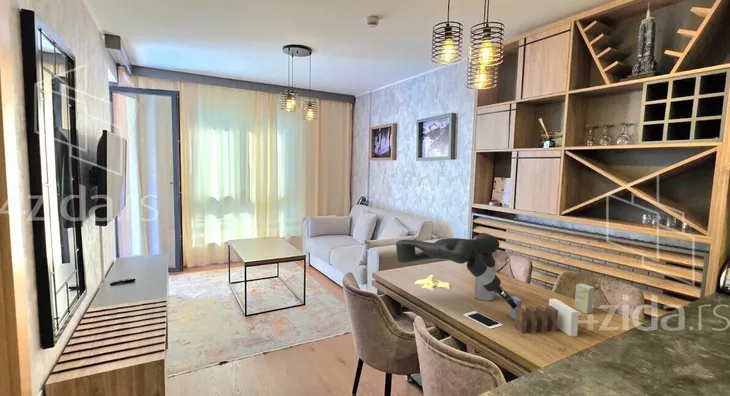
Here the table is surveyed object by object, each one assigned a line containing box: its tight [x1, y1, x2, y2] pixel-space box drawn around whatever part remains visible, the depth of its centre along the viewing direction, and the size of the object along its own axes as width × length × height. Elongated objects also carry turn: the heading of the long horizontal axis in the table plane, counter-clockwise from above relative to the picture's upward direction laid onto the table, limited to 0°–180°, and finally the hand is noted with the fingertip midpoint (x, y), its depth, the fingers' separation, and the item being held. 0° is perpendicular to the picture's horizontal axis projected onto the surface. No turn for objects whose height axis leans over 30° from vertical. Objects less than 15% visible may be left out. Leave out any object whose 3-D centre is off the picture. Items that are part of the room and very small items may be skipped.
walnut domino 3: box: [535, 305, 548, 333], centre depth 144 cm, size 2×5×9 cm, turn 6°
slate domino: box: [510, 296, 522, 320], centre depth 155 cm, size 2×5×9 cm, turn 6°
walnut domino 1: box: [514, 306, 527, 334], centre depth 143 cm, size 2×5×9 cm, turn 6°
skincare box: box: [573, 283, 595, 315], centre depth 163 cm, size 6×4×12 cm
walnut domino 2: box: [525, 305, 538, 334], centre depth 144 cm, size 2×5×9 cm, turn 6°
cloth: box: [414, 274, 451, 291], centre depth 201 cm, size 22×19×6 cm
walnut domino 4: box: [545, 305, 558, 333], centre depth 145 cm, size 2×5×9 cm, turn 6°
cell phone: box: [462, 310, 504, 330], centre depth 154 cm, size 8×16×1 cm, turn 29°
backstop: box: [548, 298, 580, 337], centre depth 145 cm, size 3×14×10 cm, turn 6°
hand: (510, 303), depth 153 cm, fingers open, 8 cm apart
